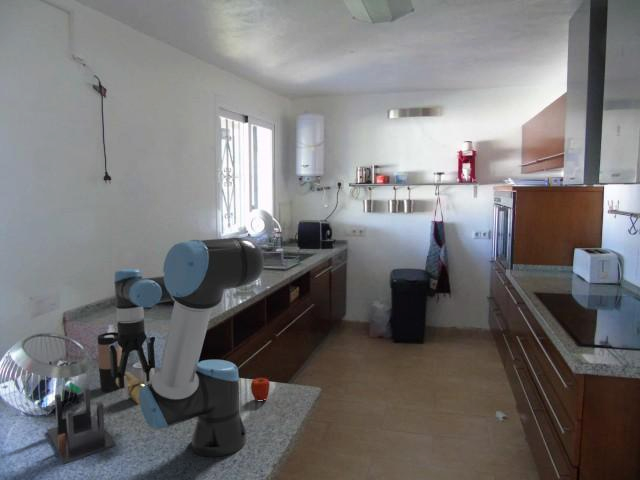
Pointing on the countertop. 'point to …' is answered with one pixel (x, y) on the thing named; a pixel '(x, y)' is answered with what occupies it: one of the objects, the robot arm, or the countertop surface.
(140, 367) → the can
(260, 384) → the apple
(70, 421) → the dark grey pronged rack
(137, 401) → the tube
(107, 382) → the travel mug
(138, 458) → the countertop surface
